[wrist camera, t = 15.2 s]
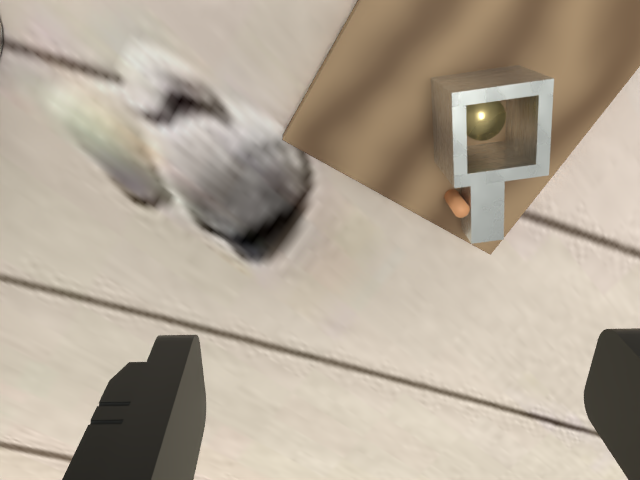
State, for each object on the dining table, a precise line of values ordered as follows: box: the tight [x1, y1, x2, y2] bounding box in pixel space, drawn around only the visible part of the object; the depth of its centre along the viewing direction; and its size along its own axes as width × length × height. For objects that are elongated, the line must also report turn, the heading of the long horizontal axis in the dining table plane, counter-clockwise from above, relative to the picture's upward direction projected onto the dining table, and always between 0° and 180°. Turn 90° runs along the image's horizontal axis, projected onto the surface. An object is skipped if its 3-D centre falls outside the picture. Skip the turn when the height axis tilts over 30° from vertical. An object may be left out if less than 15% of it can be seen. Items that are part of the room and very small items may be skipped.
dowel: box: [444, 189, 470, 218], centre depth 42 cm, size 1×1×3 cm
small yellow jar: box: [466, 101, 506, 141], centre depth 39 cm, size 3×3×4 cm
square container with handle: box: [431, 65, 554, 244], centre depth 39 cm, size 12×6×6 cm, turn 8°
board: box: [282, 0, 640, 255], centre depth 40 cm, size 20×22×2 cm
